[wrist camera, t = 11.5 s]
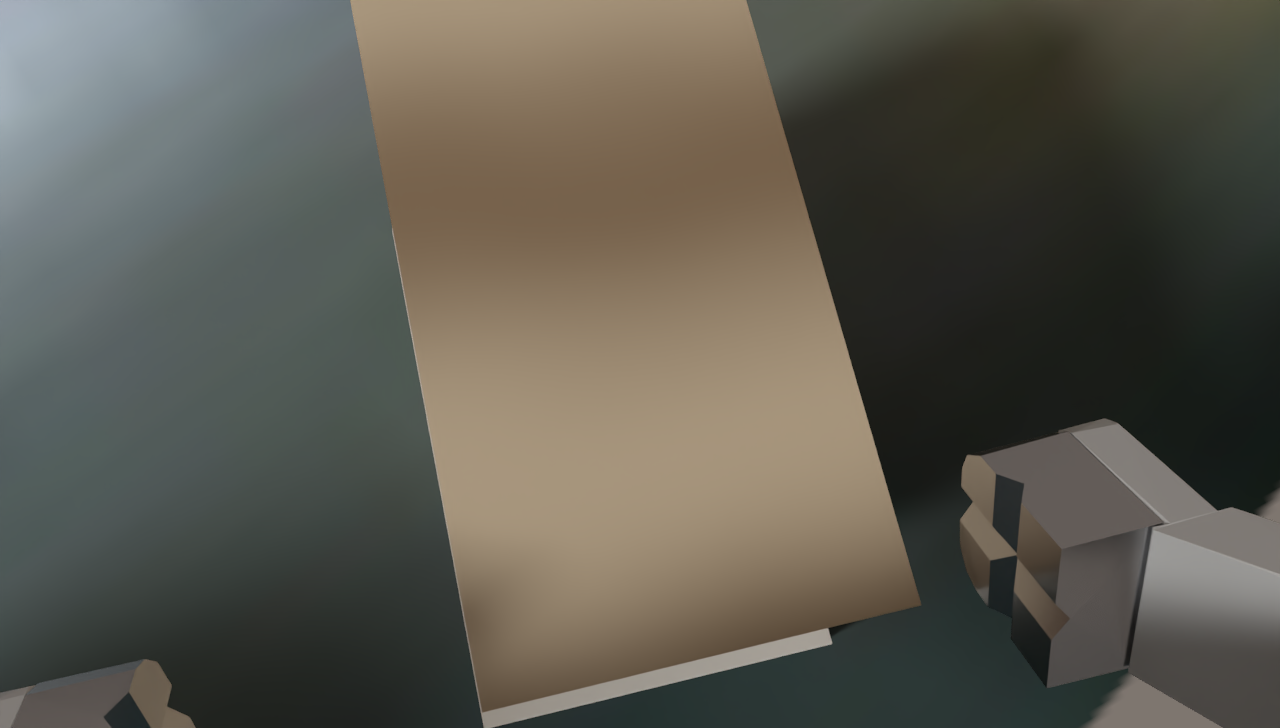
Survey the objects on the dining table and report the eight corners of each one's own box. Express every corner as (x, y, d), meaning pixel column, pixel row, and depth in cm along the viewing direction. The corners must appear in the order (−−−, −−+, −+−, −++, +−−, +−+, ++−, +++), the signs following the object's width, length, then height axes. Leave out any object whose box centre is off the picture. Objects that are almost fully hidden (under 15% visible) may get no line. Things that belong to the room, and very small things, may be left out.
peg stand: (820, 642, 24) (866, 647, 20) (489, 723, 23) (466, 746, 19) (700, 186, 27) (718, 109, 23) (401, 246, 26) (364, 177, 22)
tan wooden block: (781, 610, 20) (921, 604, 11) (534, 670, 20) (481, 712, 11) (665, 158, 22) (707, -136, 14) (441, 202, 22) (337, -73, 13)
